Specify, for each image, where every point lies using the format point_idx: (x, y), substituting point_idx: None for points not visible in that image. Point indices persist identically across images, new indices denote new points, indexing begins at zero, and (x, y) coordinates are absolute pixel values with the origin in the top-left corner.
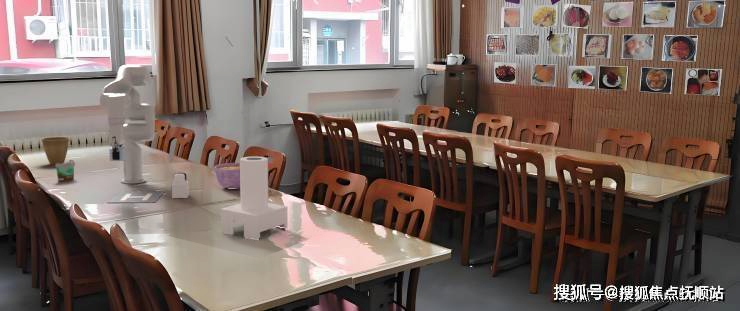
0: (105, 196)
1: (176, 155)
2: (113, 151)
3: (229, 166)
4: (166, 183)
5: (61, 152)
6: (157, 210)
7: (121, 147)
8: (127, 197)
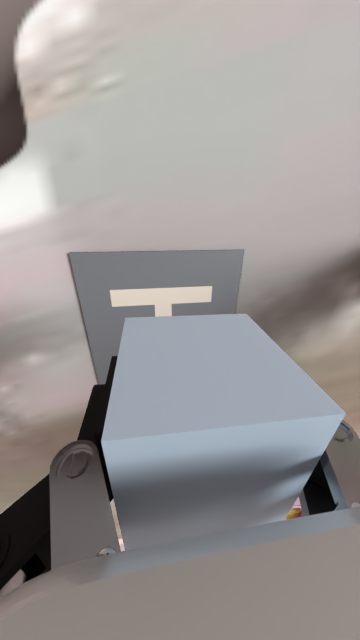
0: (185, 212)
1: None
2: (68, 459)
3: (299, 509)
4: (336, 353)
5: None
6: (12, 413)
7: (237, 512)
8: (155, 303)
